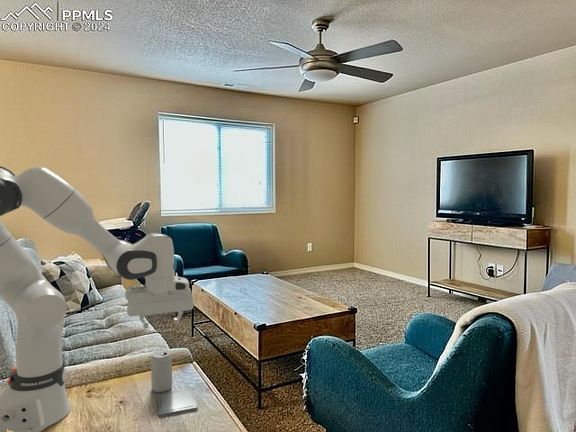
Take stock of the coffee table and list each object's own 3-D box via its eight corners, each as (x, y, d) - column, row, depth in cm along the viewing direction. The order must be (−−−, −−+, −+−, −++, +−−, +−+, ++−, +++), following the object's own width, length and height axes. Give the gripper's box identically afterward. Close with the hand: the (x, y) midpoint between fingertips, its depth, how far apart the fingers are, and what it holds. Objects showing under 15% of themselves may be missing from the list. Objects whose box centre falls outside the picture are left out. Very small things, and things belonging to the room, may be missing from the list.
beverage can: (168, 394, 125) (168, 358, 124) (148, 393, 125) (147, 357, 124) (174, 383, 131) (174, 349, 130) (155, 382, 132) (155, 348, 130)
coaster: (158, 416, 113) (158, 413, 113) (157, 396, 124) (157, 393, 124) (197, 409, 117) (197, 406, 117) (193, 390, 127) (193, 387, 127)
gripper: (124, 289, 118) (126, 333, 120) (193, 283, 125) (194, 325, 127) (125, 284, 124) (127, 326, 126) (191, 278, 131) (192, 318, 133)
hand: (161, 325), depth 126 cm, fingers open, 8 cm apart
